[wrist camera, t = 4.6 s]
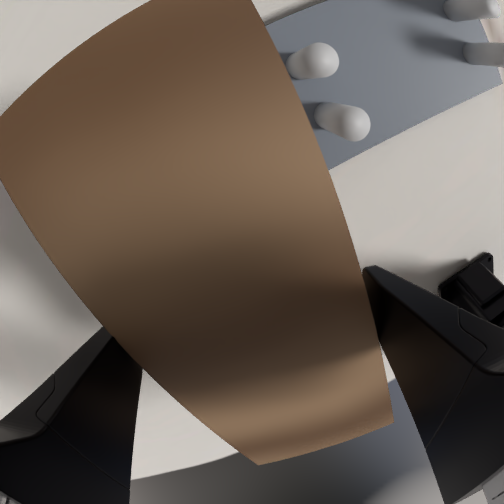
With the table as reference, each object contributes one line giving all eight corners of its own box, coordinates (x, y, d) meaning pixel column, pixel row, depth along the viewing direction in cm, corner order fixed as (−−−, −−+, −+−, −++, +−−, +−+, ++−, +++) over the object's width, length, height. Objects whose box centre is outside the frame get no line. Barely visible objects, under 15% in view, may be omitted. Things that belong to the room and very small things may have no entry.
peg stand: (447, -27, 11) (491, -39, 7) (493, 82, 15) (540, 91, 11) (231, 45, 15) (232, 28, 10) (308, 174, 19) (333, 203, 14)
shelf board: (374, 373, 14) (394, 422, 11) (253, 415, 15) (258, 465, 12) (230, 4, 6) (230, -35, 4) (41, 119, 7) (-20, 139, 5)
